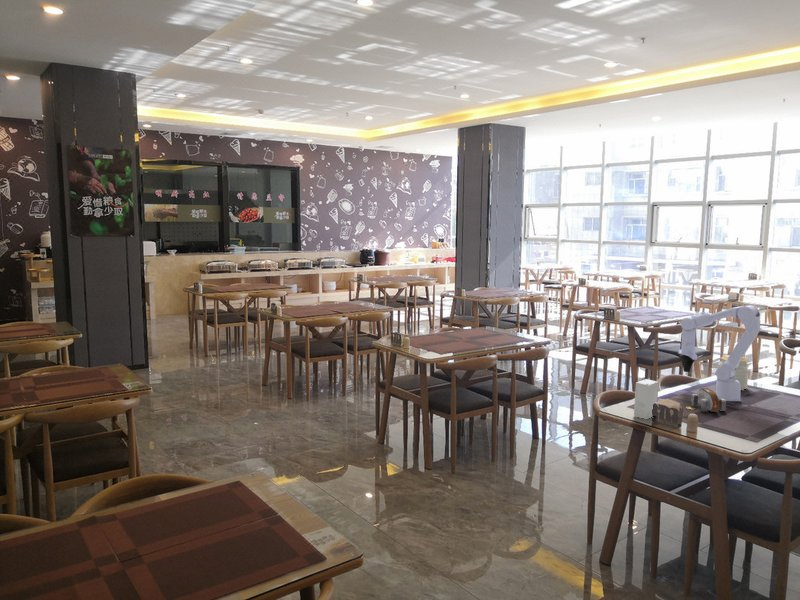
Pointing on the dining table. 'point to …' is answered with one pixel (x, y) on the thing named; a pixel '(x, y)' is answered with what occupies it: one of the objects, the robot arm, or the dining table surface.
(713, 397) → the bread slice
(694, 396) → the collar
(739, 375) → the jar
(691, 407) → the brass mark
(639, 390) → the skincare box
